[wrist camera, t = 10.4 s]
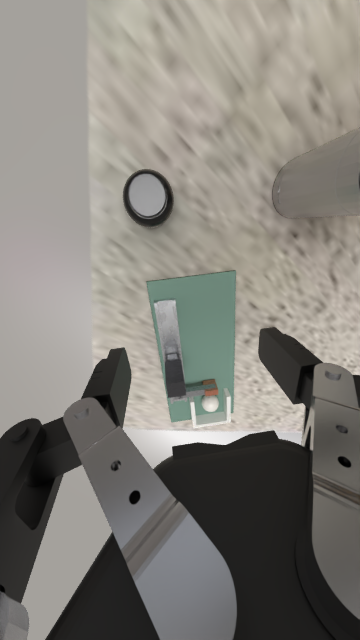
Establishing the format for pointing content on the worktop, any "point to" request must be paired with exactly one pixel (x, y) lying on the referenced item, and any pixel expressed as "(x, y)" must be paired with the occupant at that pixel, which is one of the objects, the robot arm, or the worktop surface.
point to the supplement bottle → (148, 198)
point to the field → (201, 333)
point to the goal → (212, 417)
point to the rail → (168, 331)
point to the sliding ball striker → (177, 383)
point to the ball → (210, 403)
